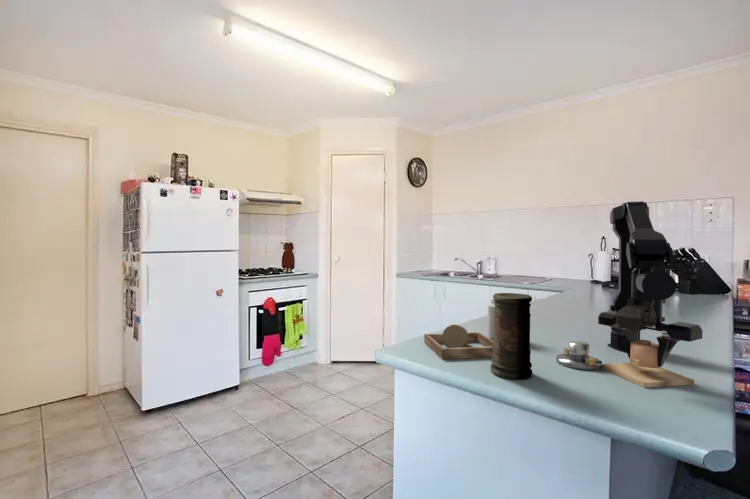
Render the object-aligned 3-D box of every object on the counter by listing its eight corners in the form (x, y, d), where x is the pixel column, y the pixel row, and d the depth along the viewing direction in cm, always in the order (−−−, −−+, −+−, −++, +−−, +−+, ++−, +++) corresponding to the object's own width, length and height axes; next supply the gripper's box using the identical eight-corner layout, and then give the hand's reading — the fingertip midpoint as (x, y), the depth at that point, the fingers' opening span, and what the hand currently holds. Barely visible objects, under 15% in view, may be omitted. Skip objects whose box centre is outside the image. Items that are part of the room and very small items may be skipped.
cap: (668, 364, 85) (669, 341, 85) (649, 370, 81) (649, 346, 81) (641, 357, 90) (641, 335, 90) (621, 363, 86) (622, 340, 86)
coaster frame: (478, 340, 116) (478, 332, 116) (504, 356, 100) (504, 346, 100) (424, 342, 113) (424, 334, 113) (441, 359, 97) (441, 349, 97)
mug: (474, 344, 112) (477, 319, 107) (460, 367, 105) (463, 340, 100) (450, 335, 116) (452, 310, 111) (436, 356, 109) (437, 330, 104)
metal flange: (582, 356, 100) (583, 337, 100) (612, 369, 90) (612, 348, 90) (547, 358, 99) (548, 338, 98) (573, 371, 89) (573, 350, 89)
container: (486, 366, 92) (486, 292, 92) (523, 366, 92) (524, 292, 91) (496, 380, 83) (497, 297, 83) (538, 380, 83) (539, 298, 82)
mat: (645, 365, 93) (645, 361, 93) (694, 384, 81) (694, 379, 81) (601, 368, 91) (601, 364, 91) (643, 387, 79) (644, 382, 79)
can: (509, 336, 121) (510, 298, 121) (516, 342, 114) (516, 302, 114) (485, 335, 122) (485, 298, 122) (490, 341, 115) (490, 301, 114)
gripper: (584, 290, 90) (583, 356, 90) (677, 302, 73) (675, 382, 74) (611, 288, 95) (610, 350, 96) (704, 298, 79) (702, 373, 79)
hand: (645, 362), depth 86 cm, fingers closed on cap, 5 cm apart
